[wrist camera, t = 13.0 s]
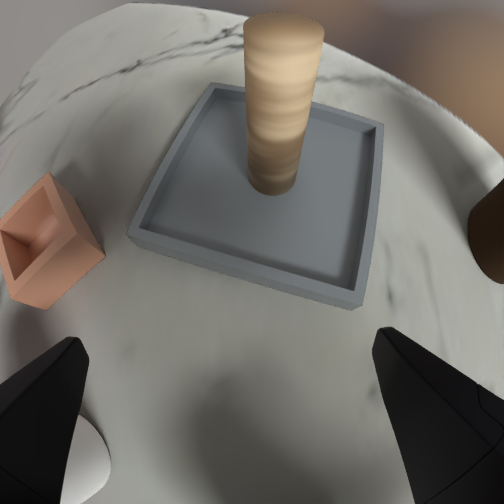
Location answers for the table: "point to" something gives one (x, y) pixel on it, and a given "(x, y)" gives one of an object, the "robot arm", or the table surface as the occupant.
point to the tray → (268, 202)
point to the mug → (85, 464)
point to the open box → (45, 244)
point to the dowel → (278, 95)
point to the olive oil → (489, 233)
